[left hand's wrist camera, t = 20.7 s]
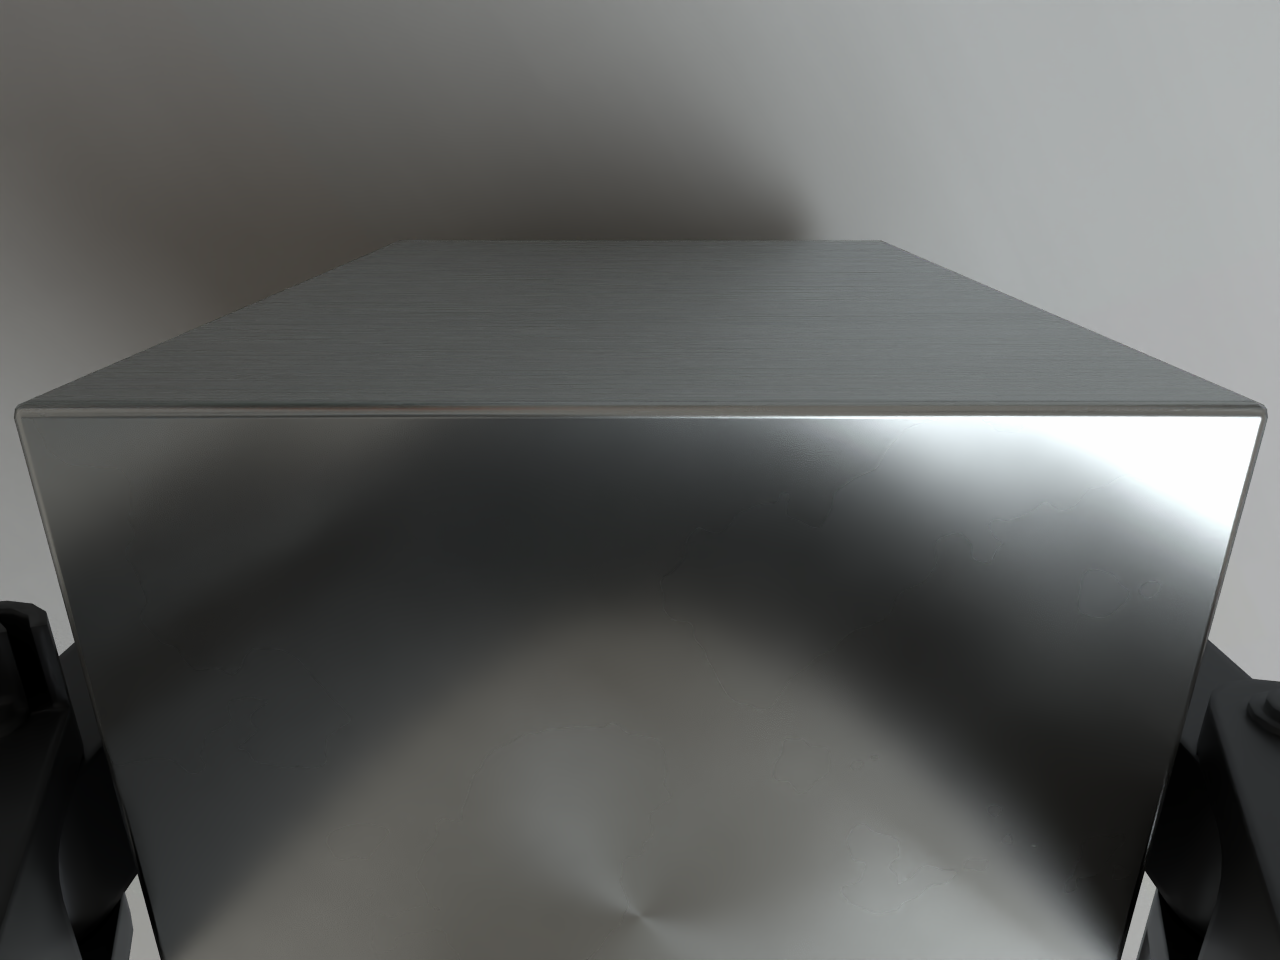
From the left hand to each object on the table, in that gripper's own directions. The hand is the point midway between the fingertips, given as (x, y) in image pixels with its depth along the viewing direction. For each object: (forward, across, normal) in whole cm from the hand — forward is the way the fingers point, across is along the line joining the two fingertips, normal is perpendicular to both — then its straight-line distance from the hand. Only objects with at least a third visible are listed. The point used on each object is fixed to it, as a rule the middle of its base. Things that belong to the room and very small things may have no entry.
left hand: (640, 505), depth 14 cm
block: (+1, 0, 0) cm, 1 cm away
